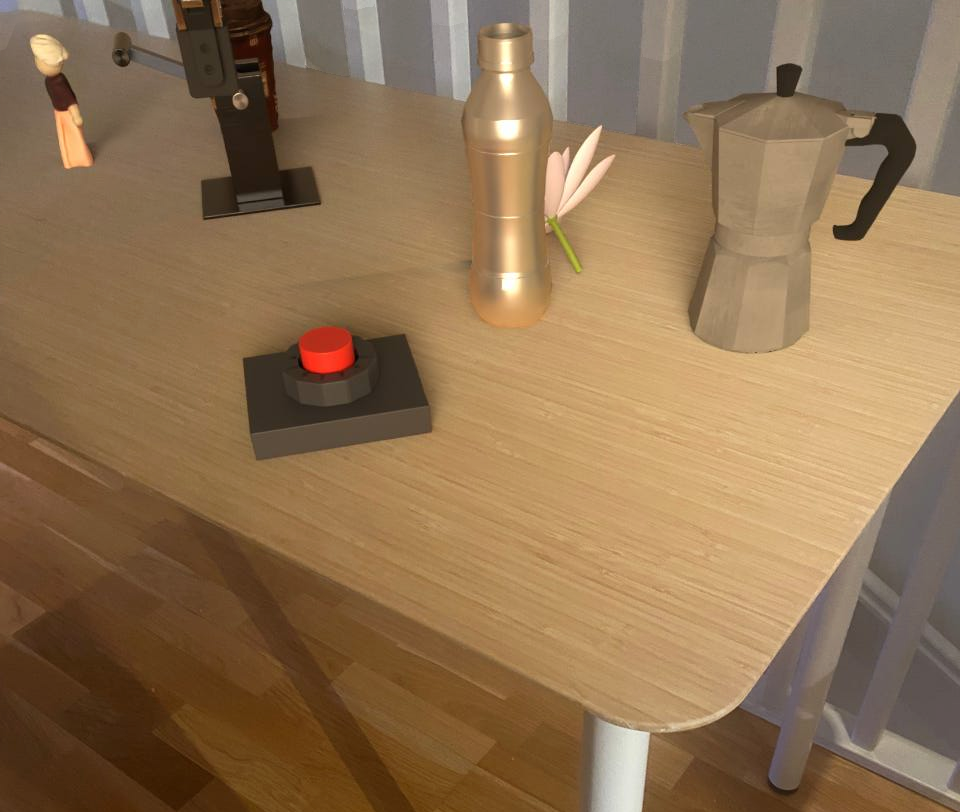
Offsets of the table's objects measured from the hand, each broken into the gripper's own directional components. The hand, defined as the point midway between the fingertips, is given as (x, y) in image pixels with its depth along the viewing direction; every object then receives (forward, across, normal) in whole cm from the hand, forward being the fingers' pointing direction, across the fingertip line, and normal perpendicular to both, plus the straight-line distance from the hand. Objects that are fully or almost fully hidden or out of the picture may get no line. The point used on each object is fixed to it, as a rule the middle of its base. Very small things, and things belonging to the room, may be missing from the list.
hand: (215, 92), depth 65 cm
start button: (+14, +12, +5) cm, 19 cm away
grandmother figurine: (+18, -40, -17) cm, 47 cm away
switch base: (+17, +12, +5) cm, 22 cm away
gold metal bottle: (+17, +3, +20) cm, 26 cm away
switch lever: (+7, -26, -4) cm, 27 cm away
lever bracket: (+18, -26, +1) cm, 31 cm away
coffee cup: (+18, -44, 0) cm, 47 cm away
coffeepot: (+17, +9, +38) cm, 42 cm away
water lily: (+17, -7, +24) cm, 31 cm away
